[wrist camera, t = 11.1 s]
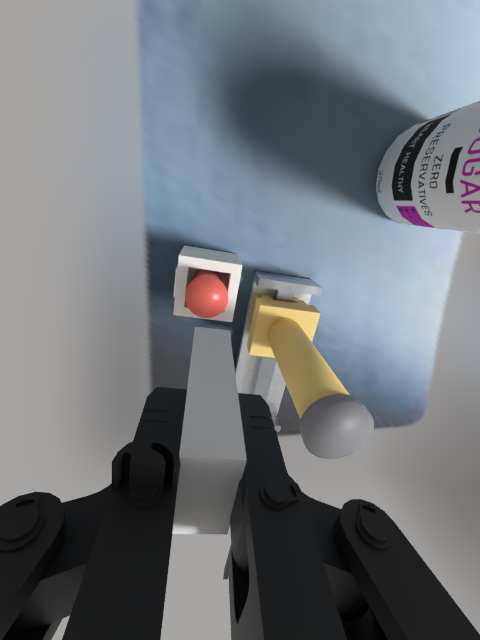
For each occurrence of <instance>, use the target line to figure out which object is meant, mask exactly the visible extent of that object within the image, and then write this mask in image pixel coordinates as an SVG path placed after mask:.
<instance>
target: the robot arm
mask: <svg viewBox="0 0 480 640" xmlns="http://www.w3.org/2000/svg"><path fill="white" fill-rule="evenodd" d="M229 526H230V527H231V547H230V551H229V554H228V558H227V561H226V565H225V570H224V578H223V579H228V576H229V594H230V616H231V640H480V635H479V633H478V632H477V631H476V629H475V628H474V626H473V625H472V624H471V623H470V621H469V620H468V619H467V617H466V616H465V615H464V613H463V612H462V611H461V609H460V608H459V607H458V605H457V604H456V603H455V602H454V600H453V599H452V598H451V596H450V595H449V594H448V592H447V591H446V590H445V588H444V587H443V586H442V584H441V583H440V582H439V581H438V579H437V578H436V576H435V575H434V574H433V573H432V571H431V570H430V569H429V567H428V566H427V565H426V563H425V562H424V561H423V559H422V558H421V557H420V555H419V554H418V553H417V551H416V550H415V549H414V547H413V546H412V545H411V544H410V542H409V541H408V540H407V538H406V537H405V536H404V534H403V533H402V532H401V530H400V529H399V528H398V526H397V525H396V524H395V522H394V521H393V520H392V519H391V518H390V517H389V516H388V515H387V514H386V513H385V512H384V511H383V510H381V509H380V508H379V507H377V506H376V505H374V504H373V503H370V502H367V501H364V500H362V499H353V500H350V501H348V502H346V503H345V504H344V505H343V507H342V509H339V508H336V507H333V506H331V505H328V504H325V503H322V502H319V501H317V500H315V499H313V498H310V497H308V496H307V495H306V494H304V493H303V492H301V490H300V488H299V486H298V484H297V483H296V482H294V480H293V479H292V478H291V477H290V476H289V475H288V473H287V470H286V467H285V463H284V460H283V456H282V452H281V448H280V445H279V441H278V437H277V434H276V430H275V426H274V423H273V420H272V415H271V412H270V408H269V405H268V404H267V403H266V401H265V400H264V399H263V398H262V396H261V395H256V394H244V393H238V390H237V383H236V375H235V368H234V360H233V353H232V345H231V338H230V331H228V330H219V329H211V328H203V327H195V332H194V340H193V347H192V355H191V363H190V371H189V379H188V387H187V390H186V389H174V388H162V387H157V388H156V389H155V390H154V391H153V392H152V393H151V394H150V395H149V396H148V397H147V399H146V403H145V406H144V409H143V412H142V415H141V418H140V422H139V424H138V428H137V431H136V434H135V437H134V440H133V442H131V443H128V444H127V445H126V446H125V447H123V448H122V449H121V450H120V451H119V452H118V453H117V455H116V456H115V458H114V459H113V461H112V484H110V485H109V486H108V487H106V488H104V489H103V490H101V491H99V492H97V493H95V494H92V495H89V496H86V497H82V498H78V499H75V500H71V501H68V502H63V503H61V501H60V499H59V498H57V497H56V496H54V495H52V494H50V493H44V492H33V493H29V494H26V495H21V496H18V497H16V498H14V499H12V500H10V501H8V502H7V503H5V504H3V505H1V506H0V640H51V639H52V637H53V636H54V634H55V632H56V630H57V628H58V626H59V624H60V622H61V621H62V619H63V618H65V617H67V616H69V615H70V618H69V621H68V624H67V627H66V630H65V633H64V636H63V639H62V640H160V637H161V628H162V619H163V610H164V601H165V593H166V584H167V575H168V566H169V557H170V549H171V540H172V534H228V530H229Z"/></svg>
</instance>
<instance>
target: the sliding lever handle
mask: <svg viewBox="0 0 480 640" xmlns="http://www.w3.org/2000/svg"><path fill="white" fill-rule="evenodd" d="M320 314H321V313H320V312H319V311H318V310H317V309H316V308H315V307H314V306H313V305H307V304H306V303H305V302H304V301H303V300H296V299H294V301H293V303H292V302H285V301H277V300H273V299H272V297H271V296H268V295H261V296H260V298H257V299H256V304H255V308H254V313H253V318H252V323H251V327H250V332H249V337H248V342H247V347H248V351H249V355H254V356H263V357H273V358H275V359H276V361H277V364H278V366H279V368H280V371H281V373H282V376H283V378H284V381H285V383H286V385H287V388H288V390H289V393H290V395H291V397H292V400H293V402H294V405H295V407H296V410H297V412H298V414H299V417H300V419H301V420H300V424H299V429H300V433H301V436H302V438H303V441H304V443H305V446H306V448H307V449H308V451H309V452H310V453H312V454H313V455H315V456H317V457H320V458H324V459H337V458H342V457H345V456H348V455H350V454H353V453H354V452H356V451H358V450H359V449H360V448H362V447H363V446H364V445H365V444H366V443H367V441H368V440H369V439H370V437H371V435H372V432H373V429H374V421H373V418H372V416H371V414H370V413H369V411H368V410H367V409H366V407H365V406H364V405H363V404H362V402H361V401H360V400H359V399H357V398H356V397H353V396H351V395H349V393H348V392H347V391H346V389H345V388H344V387H343V385H342V384H341V382H340V381H339V380H338V378H337V377H336V375H335V374H334V373H333V371H332V370H331V368H330V367H329V366H328V364H327V363H326V361H325V360H324V359H323V357H322V356H321V354H320V353H319V352H318V350H317V349H316V347H315V346H314V345H313V343H312V340H313V337H314V334H315V330H316V327H317V324H318V321H319V317H320Z"/></svg>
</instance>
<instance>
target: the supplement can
mask: <svg viewBox="0 0 480 640" xmlns="http://www.w3.org/2000/svg"><path fill="white" fill-rule="evenodd" d="M376 191H377V197H378V202H379V204H380V206H381V208H382V209H383V211H384V213H385V214H386V216H388V217H389V218H391V219H393V220H394V221H396V222H397V223H402V224H409V225H417V226H425V227H433V228H441V229H449V230H457V231H465V232H473V233H480V101H479V102H476V103H473V104H470V105H468V106H465V107H462V108H459V109H457V110H454V111H451V112H449V113H446V114H443V115H440V116H438V117H435V118H432V119H429V120H427V121H424V122H421V123H418V124H416V125H414V126H412V127H411V128H409V129H408V130H406V131H405V132H403V133H402V134H400V135H399V136H398V137H397V138H396V139H395V141H394V142H393V143H392V144H391V146H390V147H389V148H388V149H387V150H386V152H385V155H384V157H383V159H382V161H381V164H380V166H379V168H378V174H377V181H376Z"/></svg>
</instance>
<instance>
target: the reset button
mask: <svg viewBox="0 0 480 640" xmlns="http://www.w3.org/2000/svg"><path fill="white" fill-rule="evenodd" d="M185 301H186V304H187V307H188V308H189V310H190V311H191V312H192V313H193V314H195V315H196V316H198V317H202V318H212V317H215V316H218V315H219V314H221V313H222V312H223V311H224V309H225V308H226V306H227V303H228V293H227V289H226V286H225V285H224V283H223V282H222V279H221V276H220V274H219V273H218V271H212V270H205V269H199V270H198V271H197V272H196V273H195V274H194V277H193V280H192V281H191V282H190V284H189V285H188V287H187V290H186V295H185Z"/></svg>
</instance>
